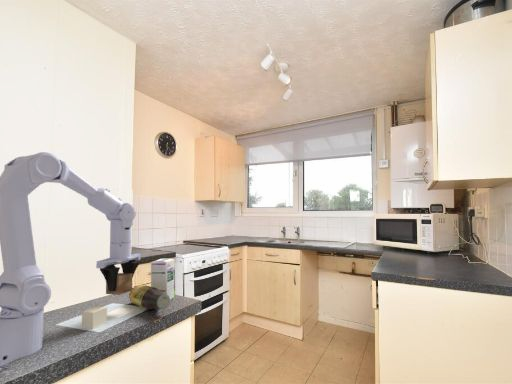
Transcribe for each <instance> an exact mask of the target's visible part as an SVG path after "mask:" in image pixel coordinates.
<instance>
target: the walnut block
mask: <svg viewBox="0 0 512 384" xmlns="http://www.w3.org/2000/svg"><path fill="white" fill-rule="evenodd" d="M132 288H133V279H132V273H123V272H118V276H117V286H116V291H108V287H107V283H106V282H105V294H106V295H115V296H121V295H123V294H126V293H128V292H129V293H130V291H132Z"/></svg>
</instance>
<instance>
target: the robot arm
mask: <svg viewBox="0 0 512 384" xmlns="http://www.w3.org/2000/svg"><path fill="white" fill-rule="evenodd" d="M45 183H56V184H61V185H63V186H65V188H68V189H70V190H72V191H74V192H75V193H77V194H79V195H80V196H83V197H85V198H86V199H87V204H88V205H89V206H91V207H92V208H94V209H95V210H97V211H98V212H100V213H102V214H104V215H105V217H106V220H108V222H110V225H109V227H110V228H109V229H110V230H109V235H110V236H109V257H107V258H104V259H100V260H97V261H96V266H95V267H96V269H99V271H100V272H101V274H102V275H103V277H104V280H105V284H106V283H107V287H108V291H116V286H117V276H118V273H120V269H121V270H122V273H132V280H133V278H134V274H135V272H136V270H137V269H138V267H139V265H140V262H139V261H140V260H141V257H142V254H141V253H133V254H132V227H133V222H134V219H135V218H136V216H137V212H136V211H135V208H134V206H133V205H132V204H130V203H128V202H125V203H124V202H123V201H122V200H123V199H121V197H119V198H118V197H116V196H115V195H113V194H112V193H111V190H109V189H108V188H104V187H99V188H96V187H94V185H92V184H91V183H89V182H88V181H87V180H86V179H84V178H83V177H82V176H81V175H79V174H78V173H76V171H74V170H73V169H72V168H70V167H69V165H68V163H66V161H64V160H62V159H59V158H58V157H57V156H55V155H54V153H51V152H46V151H42V152H38V153H35V154H29V155H26V156H24V155H23V156H17V157H15V158H14V159H12V160H11V161H9V162H8V163H6V164H5V165H4V169H3V171H2V173H1V174H0V251H1V259H2V260H1V261H2V266H3V267H2V268H3V272H2V273H1V275H0V372H2V371H5V370H8V368H7V367H3V366H4V365H7V364H9V363H12V362H14V361H16V360H18V359H21V358H25V357H27V356H30V355H33V354H34V353H36V352H38V351H39V350H41V349H42V348H43V334H44V332H43V331H44V310H45V307H46V306H47V304H48V303H49V301H50V299H51V298H52V297H51V296H52V290H51V287H50V285H48V284H47V282H46V280H45V275H44V273H43V272H42V271H41V269H40V268H39V267H38V265H37V258H36V252H35V242H34V236H33V227H32V221H31V213H30V205H29V197H28V196H29V195H30V194H31V193H32V192H33V191H35V190H36V189H37V188H38V187H39V186H40V185H41V186H42V185H43V184H45ZM116 265H120V266H121V267H118V266H116Z"/></svg>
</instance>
